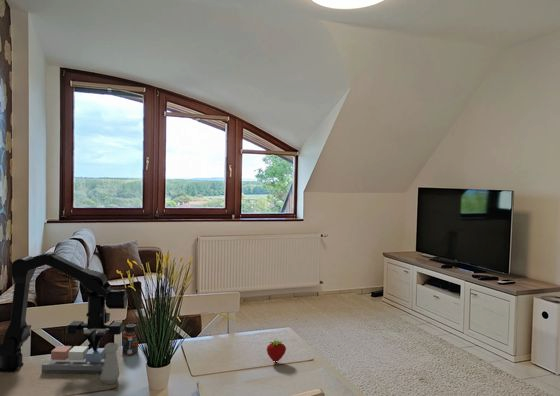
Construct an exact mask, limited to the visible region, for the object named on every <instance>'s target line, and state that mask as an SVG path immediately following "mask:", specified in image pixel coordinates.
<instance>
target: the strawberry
mask: <svg viewBox="0 0 560 396" xmlns="http://www.w3.org/2000/svg"><path fill="white" fill-rule="evenodd" d="M268 343H269V344H268V345H267V347H266V352H267V355H268V357H269V358H270V359H271V360H272V362H273V361H275V362H276V361H278V362H279V361H280V360H281V359H282V358H283V357H284V356H285V354H286V351H287V348H286V345H285V343H284V344H283V342H282V341H279V340H278V339H277V338H276V339H273V341H269V342H268Z"/></svg>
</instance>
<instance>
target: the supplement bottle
mask: <svg viewBox="0 0 560 396" xmlns="http://www.w3.org/2000/svg"><path fill="white" fill-rule="evenodd" d="M135 326H136V327H137V324H135V323H128V324H126V325H125V329H124V330H123V331H122V346H121V347H122V351H121V353H122V356H125V357H134V356H136V355H137V354H138V353H139V340H138V341H137V337H136V334H135V330H134V328H135Z"/></svg>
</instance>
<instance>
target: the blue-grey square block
mask: <svg viewBox="0 0 560 396" xmlns="http://www.w3.org/2000/svg"><path fill="white" fill-rule="evenodd" d="M104 357H105V351H104V347H98V349H97V351H93V349H92V347H91V348H90V349H88V352H87V353H86V362H100V361H101V360H102V359H103V358H104Z"/></svg>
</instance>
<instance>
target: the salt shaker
mask: <svg viewBox="0 0 560 396" xmlns="http://www.w3.org/2000/svg"><path fill="white" fill-rule="evenodd" d="M103 348H104V351H105V352H106V356H105V361H104V365H103V370H102V373H101V375H100V378H101V380H102V382H103V383H104V385H108V386H110V385H115V384H116V382H117V381H118V379H119V377H120V374H121V373H120V367H119V362H118V355H117V352H118V349H119V345H118V344H117V343H116V342H108V343H106V344H105V345H104V347H103Z"/></svg>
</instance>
